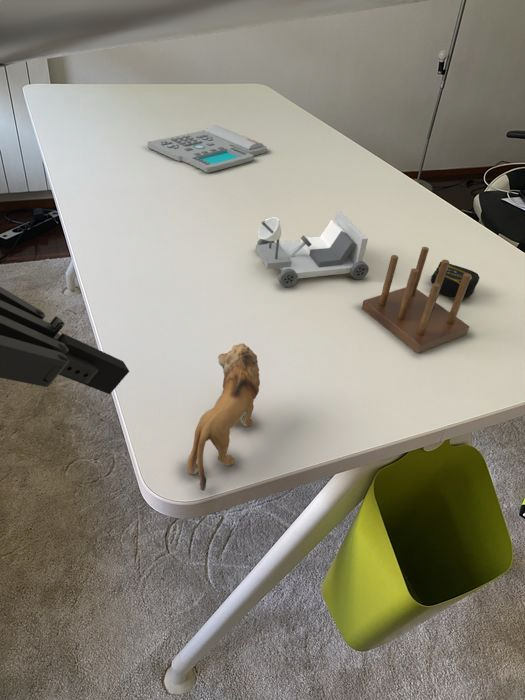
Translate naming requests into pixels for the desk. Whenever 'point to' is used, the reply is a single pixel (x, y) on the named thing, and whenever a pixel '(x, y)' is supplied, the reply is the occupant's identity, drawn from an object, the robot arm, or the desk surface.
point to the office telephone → (209, 148)
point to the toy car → (314, 251)
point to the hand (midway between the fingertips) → (116, 377)
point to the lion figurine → (227, 407)
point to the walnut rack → (418, 309)
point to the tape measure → (455, 281)
